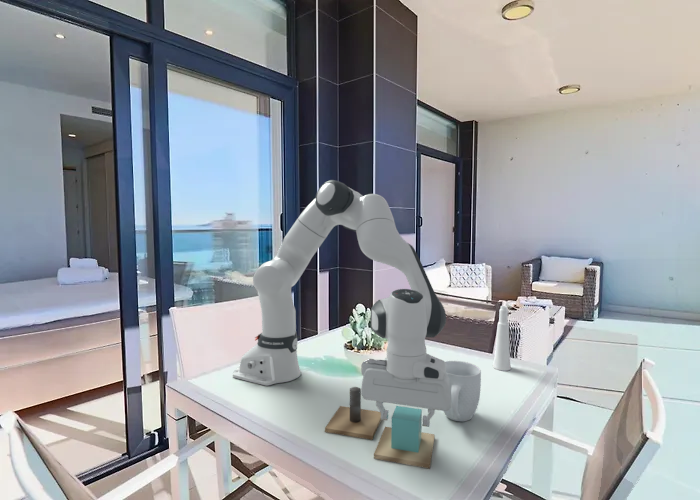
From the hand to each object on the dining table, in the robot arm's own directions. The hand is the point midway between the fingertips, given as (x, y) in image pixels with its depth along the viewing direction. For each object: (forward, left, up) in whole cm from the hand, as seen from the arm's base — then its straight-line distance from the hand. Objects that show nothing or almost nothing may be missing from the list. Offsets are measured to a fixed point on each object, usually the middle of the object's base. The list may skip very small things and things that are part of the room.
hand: (405, 422), depth 89 cm
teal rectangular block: (0, +1, -5) cm, 5 cm away
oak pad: (0, 0, -6) cm, 6 cm away
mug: (+11, +18, -6) cm, 22 cm away
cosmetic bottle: (+25, +59, -6) cm, 65 cm away
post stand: (-14, +7, -6) cm, 17 cm away
